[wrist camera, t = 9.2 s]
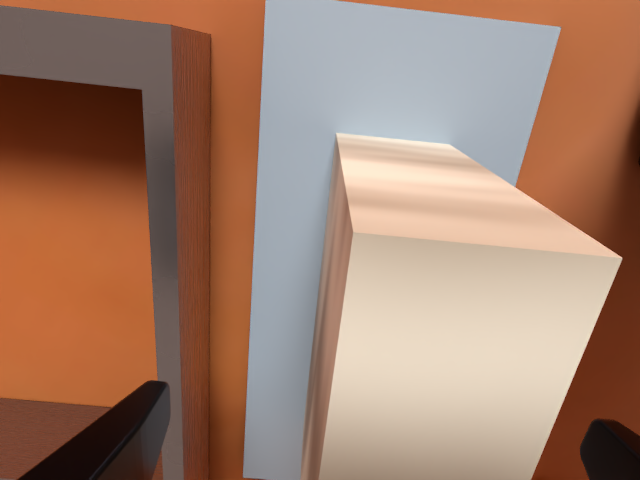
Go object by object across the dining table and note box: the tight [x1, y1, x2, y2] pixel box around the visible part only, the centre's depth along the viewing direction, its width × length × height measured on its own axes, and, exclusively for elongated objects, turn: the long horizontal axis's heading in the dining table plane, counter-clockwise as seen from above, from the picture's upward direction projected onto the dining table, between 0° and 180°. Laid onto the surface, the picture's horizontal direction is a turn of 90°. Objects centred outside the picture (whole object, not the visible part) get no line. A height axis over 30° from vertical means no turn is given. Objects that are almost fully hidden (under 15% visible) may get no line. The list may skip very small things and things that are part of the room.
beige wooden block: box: [300, 133, 623, 480], centre depth 10 cm, size 10×3×7 cm, turn 174°
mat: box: [243, 0, 561, 480], centre depth 13 cm, size 7×16×1 cm, turn 174°
